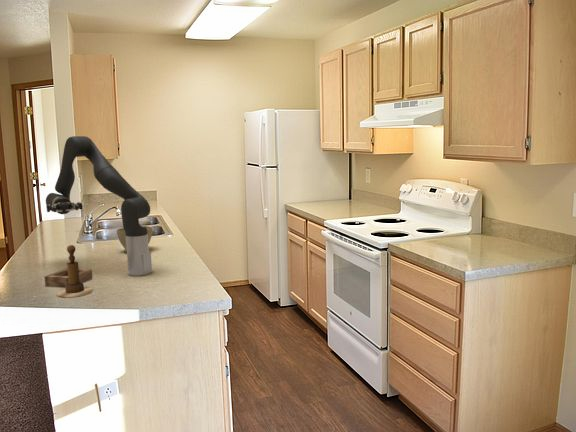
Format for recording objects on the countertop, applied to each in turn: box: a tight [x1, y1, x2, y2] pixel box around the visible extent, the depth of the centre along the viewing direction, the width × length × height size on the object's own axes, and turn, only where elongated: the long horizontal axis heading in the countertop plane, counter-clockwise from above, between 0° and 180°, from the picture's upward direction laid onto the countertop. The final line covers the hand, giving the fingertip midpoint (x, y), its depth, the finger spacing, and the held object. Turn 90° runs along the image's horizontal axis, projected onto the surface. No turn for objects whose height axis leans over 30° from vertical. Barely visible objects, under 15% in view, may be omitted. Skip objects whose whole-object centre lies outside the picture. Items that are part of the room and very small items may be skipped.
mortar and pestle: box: [64, 244, 85, 293], centre depth 199 cm, size 7×6×18 cm
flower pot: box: [116, 225, 153, 251], centre depth 272 cm, size 18×18×12 cm
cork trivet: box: [56, 285, 94, 299], centre depth 200 cm, size 13×13×1 cm
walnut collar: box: [44, 267, 93, 288], centre depth 215 cm, size 12×14×4 cm
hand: (66, 208), depth 218 cm, fingers open, 8 cm apart
